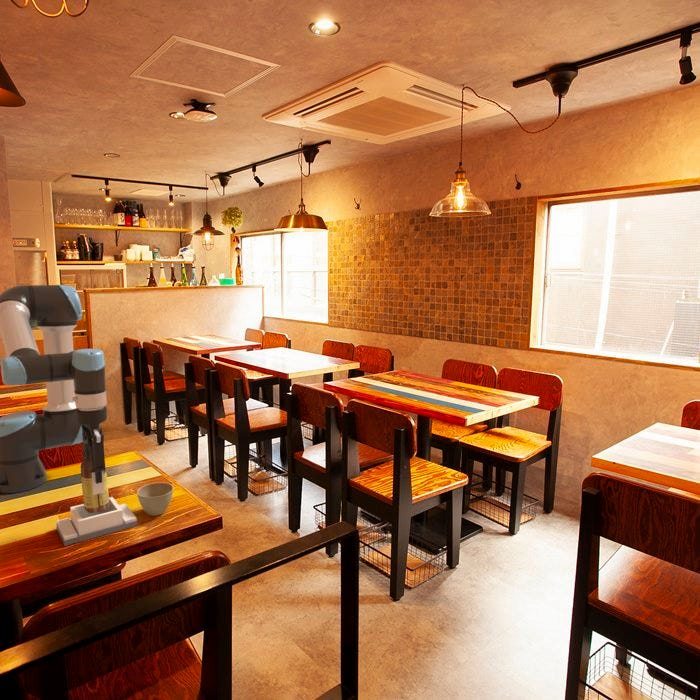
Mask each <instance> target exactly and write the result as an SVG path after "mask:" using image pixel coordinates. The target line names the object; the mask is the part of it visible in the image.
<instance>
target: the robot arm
mask: <svg viewBox="0 0 700 700" xmlns="http://www.w3.org/2000/svg"><path fill="white" fill-rule="evenodd" d="M82 318H83V309H82V304H81V299H80V297H79V294H78V292H77V290H76V288H75V287H73V286H71V285H63V284H50V285H49V284H39V285H37V284H31V285H27V284H21V285H20V284H19V285H14V286H13V287H9V288H7V289H5V290H4V291H3V292H1V293H0V335H1V340H2V342H3V347H4V351H5V355H6V357H3V358H1V360H0V373H1V378H2V379H1V380H2V383H3V385H5V386H7V387H8V386H9V387H11V386H25V385H33V384H34V385H35V384H41V383H42V384H43V383H46V395H47V397H46V398H47V403H46V404H45V406H43V408H42V413H41V414H37V413H36V411H34V410H19V411H16V412H12V413H9V414H6V415H3V416H1V417H0V494H14V493H21V492H26V491H31V490H32V489H36V488H38V487H40V486H42V485H44V484H45V483H46V481H47V472H46V470H45V467H44V466H43V463H42V461H41V459H40V455H39V453H40V452H39V451H42V450H48V449H54V448H59V447H67V446H69V447H70V446H72V445H76V444H81V443H82V442H83V441H84V440H86V439H87V445H88V446H89V447H90V452H91V460H92V468H93V469H92V470H90V473H92V490H93V495H96V494H100V493H104V476H103V470H105V469H107V467H106V460H105V446H104V441H105V438H104V437H105V435H104V434H103V429H102V428H101V426H100V424H101V423H104V422H106V421H107V420H108V411H107V410H108V408H107V406H106V405H107V403H108V401H107V388H106V371H105V369H106V366H105V365H106V360H105V356H104V354H105V353H104V351H103V350H101V349H99V348H97V349H96V348H81V349H77V350H76V349H75V350H74V340H73V339H74V337H73V336H74V335H73V331H74V329H75V328H77V326H78V323H77V321H81V320H82ZM31 322H36V327H37V328H38V329H39V330H40V331H41V332H42V339H43V340H42V341H43V354H40V351H39V347H38V345H37V342H36V338H35V336H34V333H33V331H32V330H33V329H32V327H31V324H30V323H31ZM90 442H92V443H90ZM82 458H84V448H83V447H82Z"/></svg>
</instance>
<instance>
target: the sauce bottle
mask: <svg viewBox="0 0 700 700" xmlns="http://www.w3.org/2000/svg"><path fill="white" fill-rule="evenodd" d="M81 443H82V449H83V448H84V457H83V459H82V462H81V464H80V478H81V489H82V498H83V504H84V506H85V510H86V511H87V512H89V513H95V512H101V511H103V510H106V509H107V508H108V506H109V498H110V495H109V487H108V486H109V484H108V483H109V482H108V475H107V473H108V472H107V470H106V469H107V468H106V469H105V470H103V476H104V493H100V494H96V495H93V490H92V473H90V470H92V469H93V468H92V460H91V452H90V447H89V446H88V445H87V439H86V440H84V441H83V442H81ZM90 443H92V442H90Z"/></svg>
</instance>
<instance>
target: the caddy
mask: <svg viewBox="0 0 700 700" xmlns="http://www.w3.org/2000/svg"><path fill="white" fill-rule="evenodd" d="M69 510H70V511H69V512H70V518H69V517H65V518H62V519H59V520H58V519H57V520H56V521H55V523H56V524H55V525H56V530H57V533H58V534H59V536H60V539H61V541H62V543H63V545H64V546H65V547H66V546H70V545H73V543H74V544H77V543H81V542H84V541H88V540H91V539H95V538H98V537H102V536H105V535H109V534H112V533H116V532H120V531H124V530H126V529H130V528H133V527H134V528H135V527H137V526H138V521H137V520H138V518H137V516H136V515H135V514H134V512H132V510H131V509H130V507H128V505H127V504H126V503H122V504H118V501H116V499H115V498H114V497H113V496H109V506H108V508H107V509H106V510H103V511H101V512H95V513H89V512H87V511H86V510H85V506H84V503H81V504H78V505H75V506H74V505H73V506H70V509H69Z"/></svg>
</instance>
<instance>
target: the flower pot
mask: <svg viewBox="0 0 700 700" xmlns="http://www.w3.org/2000/svg"><path fill="white" fill-rule="evenodd" d="M173 493H174V486H173V485H172V484H170V483H169V482H151V483H148V484H144V485H142V486H141V487H139V488H138V489H137V492H136V494H137V498H138V501H139V503H140V505H141V508H142V509H143V510H144V512H145V513H146V514H147V515H148V516H151V517H157V516H160V515H163V514H164V513H165V512H166V511H167V509H168V508H169V506H170V504H171V502H172V498H173Z"/></svg>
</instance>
